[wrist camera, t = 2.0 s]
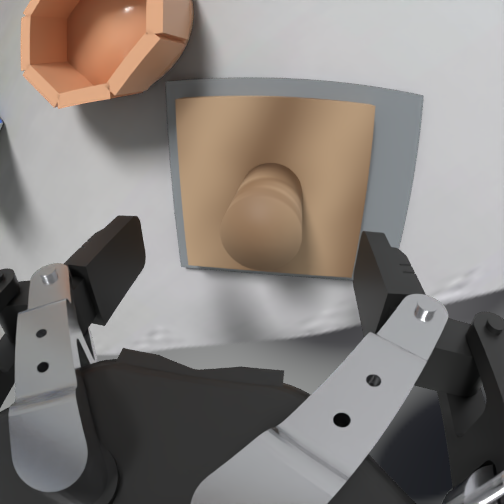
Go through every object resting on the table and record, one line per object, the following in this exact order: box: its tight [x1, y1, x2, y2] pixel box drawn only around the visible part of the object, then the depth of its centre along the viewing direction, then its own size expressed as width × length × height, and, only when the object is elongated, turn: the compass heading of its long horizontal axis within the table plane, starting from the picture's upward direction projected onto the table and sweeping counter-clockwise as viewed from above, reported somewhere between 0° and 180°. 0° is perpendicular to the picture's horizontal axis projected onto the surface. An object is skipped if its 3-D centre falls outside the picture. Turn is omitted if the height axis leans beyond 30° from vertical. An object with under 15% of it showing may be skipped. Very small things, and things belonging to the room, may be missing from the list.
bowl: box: [21, 0, 194, 109], centre depth 13 cm, size 9×9×4 cm
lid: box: [175, 96, 375, 278], centre depth 15 cm, size 10×10×6 cm
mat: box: [166, 78, 423, 280], centre depth 18 cm, size 14×12×1 cm
